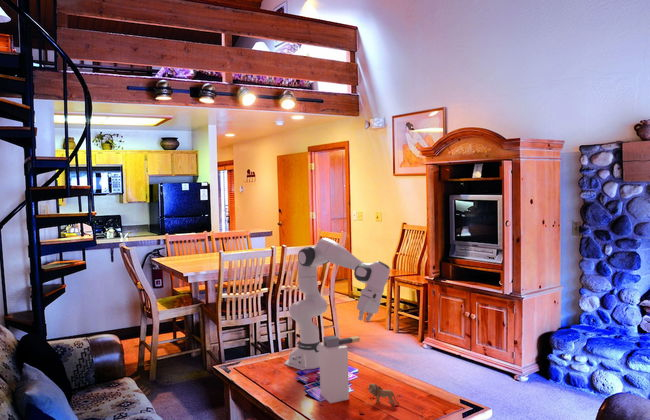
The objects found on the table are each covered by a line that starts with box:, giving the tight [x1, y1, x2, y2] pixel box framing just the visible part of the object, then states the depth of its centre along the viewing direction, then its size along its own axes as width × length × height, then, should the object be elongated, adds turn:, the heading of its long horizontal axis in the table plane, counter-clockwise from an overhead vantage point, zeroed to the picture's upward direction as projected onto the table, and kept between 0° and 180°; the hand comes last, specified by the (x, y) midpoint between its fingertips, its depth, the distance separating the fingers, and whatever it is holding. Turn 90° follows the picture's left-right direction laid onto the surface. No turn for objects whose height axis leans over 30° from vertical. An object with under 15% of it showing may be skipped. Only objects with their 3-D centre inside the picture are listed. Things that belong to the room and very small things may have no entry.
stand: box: [319, 342, 350, 404], centre depth 247 cm, size 10×12×26 cm
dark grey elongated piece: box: [323, 334, 361, 348], centre depth 248 cm, size 18×5×4 cm, turn 114°
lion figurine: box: [368, 382, 400, 407], centre depth 238 cm, size 15×5×9 cm, turn 73°
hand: (363, 320), depth 246 cm, fingers open, 8 cm apart
